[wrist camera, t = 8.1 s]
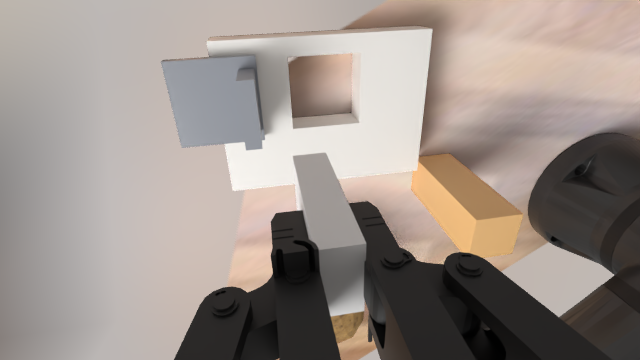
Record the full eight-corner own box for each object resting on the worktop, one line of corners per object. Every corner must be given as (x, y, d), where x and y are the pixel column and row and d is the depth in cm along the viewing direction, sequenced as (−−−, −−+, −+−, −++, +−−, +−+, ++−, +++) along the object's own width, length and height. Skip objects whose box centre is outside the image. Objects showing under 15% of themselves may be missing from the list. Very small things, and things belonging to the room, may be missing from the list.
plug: (449, 153, 38) (523, 214, 28) (444, 185, 40) (511, 253, 30) (414, 157, 38) (476, 220, 27) (411, 189, 39) (467, 260, 29)
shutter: (255, 54, 27) (255, 65, 23) (264, 136, 30) (266, 159, 26) (163, 59, 26) (146, 72, 22) (183, 144, 29) (171, 169, 25)
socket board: (417, 25, 31) (432, 28, 29) (405, 158, 37) (417, 170, 35) (210, 37, 29) (206, 41, 26) (234, 176, 35) (232, 190, 32)
